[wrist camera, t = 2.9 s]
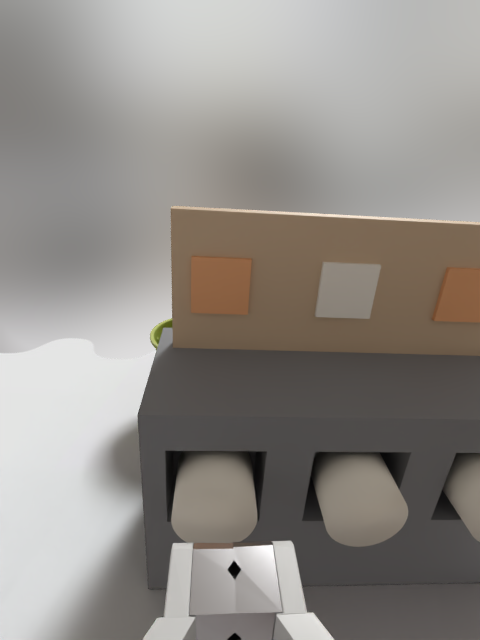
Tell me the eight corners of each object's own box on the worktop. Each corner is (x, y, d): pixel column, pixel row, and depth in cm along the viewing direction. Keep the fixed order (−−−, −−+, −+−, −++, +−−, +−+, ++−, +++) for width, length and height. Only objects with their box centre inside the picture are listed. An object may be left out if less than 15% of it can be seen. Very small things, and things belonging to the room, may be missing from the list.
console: (148, 589, 25) (126, 233, 15) (166, 469, 34) (160, 200, 24) (498, 582, 27) (674, 259, 17) (427, 470, 36) (515, 219, 26)
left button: (171, 549, 20) (170, 489, 18) (178, 492, 24) (177, 437, 22) (254, 548, 21) (260, 488, 19) (249, 492, 24) (254, 437, 22)
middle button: (319, 547, 21) (332, 488, 19) (305, 492, 24) (315, 438, 22) (397, 546, 21) (417, 488, 19) (373, 492, 24) (388, 439, 23)
